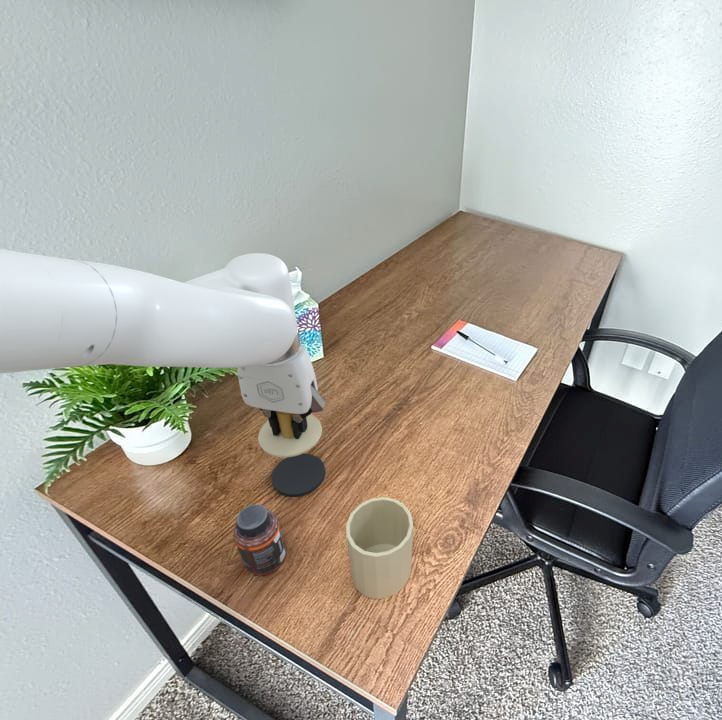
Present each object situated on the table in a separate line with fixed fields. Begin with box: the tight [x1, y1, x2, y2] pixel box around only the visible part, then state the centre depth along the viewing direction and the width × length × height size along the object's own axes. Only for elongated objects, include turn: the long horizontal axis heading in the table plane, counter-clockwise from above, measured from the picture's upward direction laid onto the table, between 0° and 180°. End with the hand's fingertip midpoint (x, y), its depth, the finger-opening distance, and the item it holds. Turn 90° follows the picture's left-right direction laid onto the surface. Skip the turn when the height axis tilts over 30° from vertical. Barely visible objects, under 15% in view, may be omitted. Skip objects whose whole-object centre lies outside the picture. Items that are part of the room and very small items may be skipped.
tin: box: [345, 496, 414, 600], centre depth 68 cm, size 9×9×12 cm
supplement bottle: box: [232, 503, 287, 577], centre depth 68 cm, size 6×6×11 cm
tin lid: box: [257, 411, 323, 459], centre depth 75 cm, size 10×10×7 cm
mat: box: [270, 453, 326, 498], centre depth 83 cm, size 9×9×1 cm
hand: (290, 430), depth 76 cm, fingers closed on tin lid, 2 cm apart
